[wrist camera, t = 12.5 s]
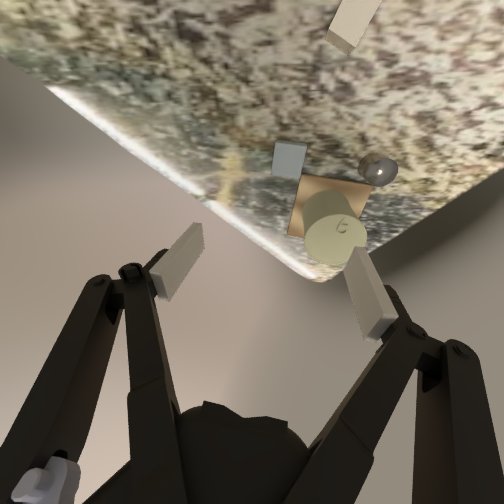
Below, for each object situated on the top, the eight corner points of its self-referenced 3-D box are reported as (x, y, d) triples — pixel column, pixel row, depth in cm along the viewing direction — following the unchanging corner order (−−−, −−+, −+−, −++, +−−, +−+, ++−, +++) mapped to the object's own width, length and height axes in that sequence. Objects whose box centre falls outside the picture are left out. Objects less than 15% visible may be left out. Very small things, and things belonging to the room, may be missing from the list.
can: (359, 196, 37) (381, 224, 27) (337, 237, 42) (350, 273, 32) (311, 184, 37) (316, 208, 27) (296, 227, 43) (296, 259, 33)
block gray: (277, 139, 35) (275, 142, 31) (305, 143, 35) (307, 146, 31) (273, 169, 38) (270, 175, 34) (299, 172, 38) (299, 179, 33)
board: (301, 173, 37) (301, 174, 36) (371, 184, 36) (373, 185, 35) (287, 232, 45) (287, 234, 44) (345, 242, 44) (346, 245, 43)
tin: (363, 151, 34) (375, 157, 29) (387, 154, 33) (403, 161, 29) (354, 175, 36) (363, 184, 31) (376, 179, 36) (389, 188, 31)
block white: (350, -14, 25) (358, -34, 21) (376, 5, 25) (388, -12, 22) (324, 39, 27) (328, 28, 24) (348, 55, 28) (355, 47, 25)
